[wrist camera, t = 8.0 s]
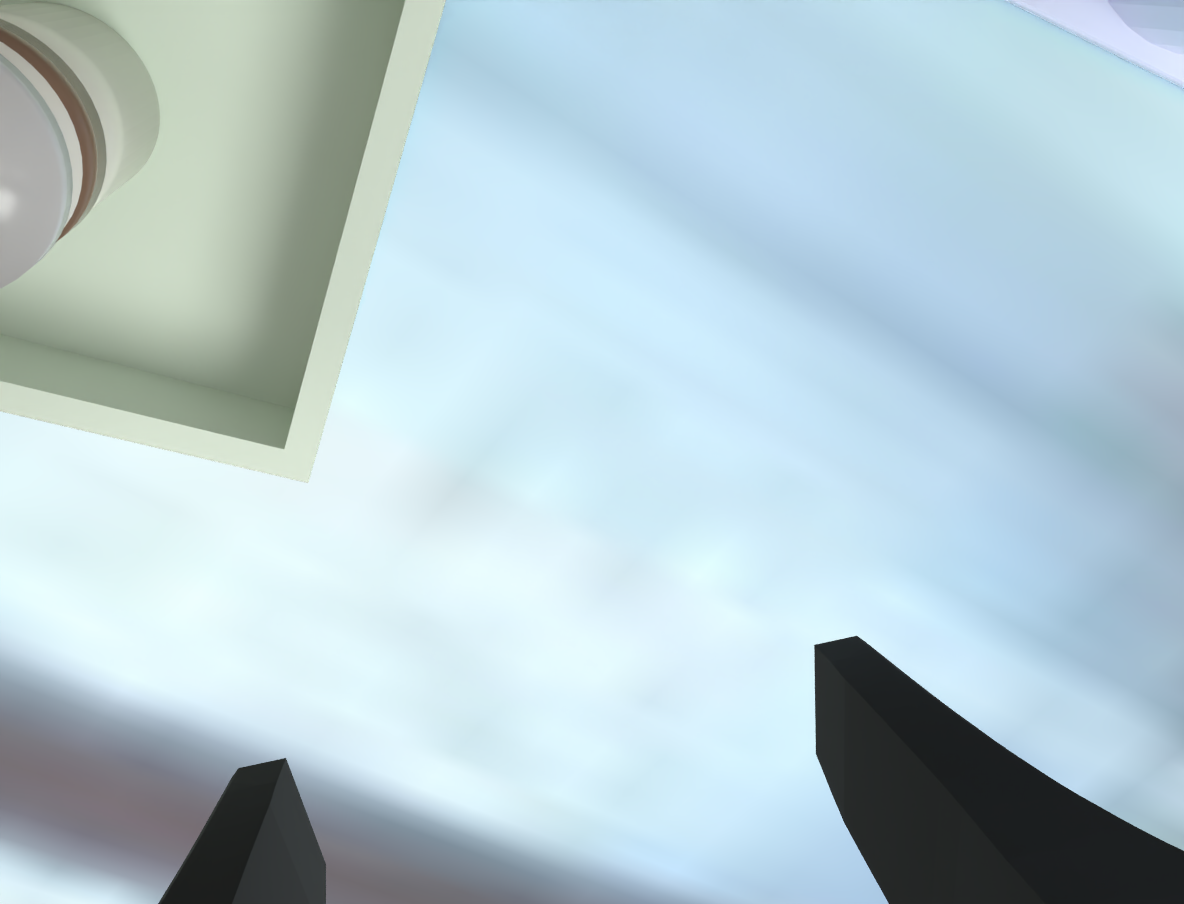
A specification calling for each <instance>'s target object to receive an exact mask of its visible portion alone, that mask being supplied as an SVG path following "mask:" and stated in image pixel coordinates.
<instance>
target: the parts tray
mask: <svg viewBox="0 0 1184 904" xmlns="http://www.w3.org/2000/svg"><path fill="white" fill-rule="evenodd" d="M445 1H446V0H0V6H2V5H12V4H21V3H31V2H49V3H56V4H62V5H66V6H69V7H73V8H76V9H79V10H81V11H83V12H86V13H88V14H90V15H92V16H94V17H96V18H97V19H99V20H101V21H102V22H104V23H105V24H107V25H108V26H109V27H111V28H112V29H114V30H115V31H116V32H117V33H118V34H119V35H120V36H122V37H123V38H124V39H125V40H126V41H127V42H128V44H129V45H130V46H131V47H132V48H133V49H134V50H135V52H136V53H137V54H138V56H139V57H140V59H141V60H142V62H143V63H144V65H145V67H146V69H147V70H148V72H149V74H150V76H151V79H152V81H153V84H154V86H155V90H156V93H157V97H158V102H159V109H160V127H159V135H158V138H157V142H156V145H155V148H154V150H153V152H152V154H151V156H150V158H149V159H148V161H147V162H146V164H145V165H144V167H143V168H142V169H141V170H140V171H139V172H138V173H137V174H136V175H135V176H133V177H132V178H131V179H130V180H128V181H127V182H126V183H125V184H123V185H122V186H121V187H120V188H118V189H117V190H116V191H114V192H113V193H112V194H111V195H109V196H108V197H107V198H106V199H104V200H103V201H102V202H100V203H99V204H98V205H97V206H95V207H94V208H93V209H92V210H91V211H90V212H89V214H88V215H87V216H86V217H85V218H84V219H83V220H82V221H81V222H80V224H78V225H77V226H76V227H75V228H73V229H72V230H71V231H70V232H68V233H67V234H66V235H65V236H63V237H62V238H61V239H60V240H58V241H57V242H56V243H55V244H54V246H53V247H52V248H51V250H50V251H49V252H48V253H47V254H46V255H45V256H44V257H43V259H41V260H40V261H39V262H38V263H36V264H35V265H34V266H33V267H31V268H30V269H29V270H28V271H27V272H25V273H24V274H23V275H22V276H20V277H19V278H18V279H17V280H15V281H13V282H11V283H10V284H8V285H6V286H5V287H3V288H0V411H1V412H5V413H10V414H14V415H18V416H23V417H27V418H31V419H35V420H40V421H44V422H48V423H53V424H57V425H61V426H65V427H70V428H74V429H78V430H83V431H87V432H91V433H95V434H100V435H104V436H108V437H113V438H117V439H121V440H125V441H130V442H134V443H138V444H143V445H147V446H151V447H155V448H160V449H164V450H168V451H173V452H177V453H181V454H186V455H190V456H194V457H198V458H203V459H207V460H211V461H216V462H220V463H224V464H228V465H233V466H237V467H241V468H246V469H250V470H254V471H258V472H263V473H267V474H271V475H276V476H280V477H284V478H288V479H293V480H297V481H301V482H306V483H308V482H309V478H310V475H311V471H312V468H313V464H314V461H315V457H316V454H317V450H318V447H319V443H320V440H321V436H322V433H323V429H324V426H325V422H326V419H327V415H328V412H329V408H330V405H331V401H332V398H333V394H334V391H335V387H336V384H337V380H338V377H339V373H340V370H341V366H342V363H343V359H344V356H345V352H346V349H347V345H348V342H349V338H350V335H351V331H352V328H353V324H354V321H355V317H356V314H357V310H358V307H359V303H360V299H361V296H362V292H363V289H364V285H365V282H366V278H367V275H368V271H369V268H370V264H371V261H372V257H373V254H374V250H375V247H376V243H377V240H378V236H379V233H380V229H381V226H382V222H383V219H384V215H385V212H386V208H387V205H388V201H389V198H390V194H391V191H392V187H393V184H394V180H395V177H396V173H397V170H398V166H399V163H400V159H401V156H402V152H403V149H404V145H405V142H406V138H407V135H408V131H409V128H410V124H411V121H412V117H413V114H414V110H415V107H416V103H417V100H418V96H419V93H420V89H421V86H422V82H423V79H424V75H425V72H426V68H427V65H428V61H429V57H430V54H431V50H432V47H433V43H434V40H435V36H436V33H437V29H438V26H439V22H440V19H441V15H442V12H443V8H444V5H445Z"/></svg>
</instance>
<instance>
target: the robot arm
mask: <svg viewBox="0 0 1184 904" xmlns="http://www.w3.org/2000/svg"><path fill="white" fill-rule="evenodd" d="M1005 1H1007V2H1009V3H1011V4H1013V5H1015V6H1017V7H1019V8H1021V9H1023V10H1025V11H1027V12H1029V13H1031V14H1033V15H1035V16H1037V17H1039V18H1041V19H1043V20H1045V21H1047V22H1049V23H1051V24H1053V25H1055V26H1057V27H1059V28H1061V29H1063V30H1065V31H1068V32H1070V33H1072V34H1074V35H1076V36H1078V37H1080V38H1082V39H1084V40H1086V41H1088V42H1090V43H1092V44H1094V45H1096V46H1098V47H1100V48H1102V49H1104V50H1106V51H1108V52H1110V53H1112V54H1114V55H1116V56H1118V57H1120V58H1122V59H1124V60H1126V61H1128V62H1130V63H1132V64H1134V65H1136V66H1138V67H1140V68H1142V69H1145V70H1147V71H1149V72H1151V73H1153V74H1155V75H1157V76H1159V77H1161V78H1163V79H1165V80H1167V81H1169V82H1171V83H1173V84H1175V85H1177V86H1179V87H1181V88H1183V89H1184V0H1005ZM814 646H815V718H816V755H817V757H818V760H819V762H820V765H821V767H822V770H823V772H824V775H825V777H826V780H827V782H828V785H829V787H830V790H831V792H832V795H833V797H834V799H835V802H836V804H837V807H838V809H839V811H840V814H841V816H842V818H843V821H844V823H845V825H846V827H847V828H848V830H849V832H850V834H851V836H852V838H853V840H854V841H855V843H856V845H857V847H858V849H859V850H860V852H861V854H862V856H863V858H864V860H865V861H866V863H867V865H868V867H869V869H870V870H871V872H872V874H873V876H874V878H875V879H876V881H877V883H878V885H879V887H880V888H881V890H882V892H883V894H884V896H885V897H886V899H887V901H888V903H889V904H1184V851H1183V850H1181V849H1179V848H1176V847H1174V846H1172V845H1170V844H1168V843H1166V842H1164V841H1162V840H1160V839H1158V838H1156V837H1154V836H1152V835H1150V834H1148V833H1146V832H1145V831H1143V830H1141V829H1139V828H1137V827H1135V826H1133V825H1131V824H1129V823H1127V822H1126V821H1124V820H1122V819H1120V818H1119V817H1117V816H1115V815H1113V814H1111V813H1110V812H1108V811H1106V810H1104V809H1103V808H1101V807H1099V806H1097V805H1095V804H1094V803H1092V802H1090V801H1088V800H1086V799H1085V798H1083V797H1081V796H1079V795H1078V794H1076V793H1074V792H1073V791H1071V790H1069V789H1068V788H1066V787H1064V786H1063V785H1061V784H1059V783H1058V782H1056V781H1055V780H1053V779H1051V778H1050V777H1048V776H1047V775H1045V774H1044V773H1042V772H1041V771H1039V770H1038V769H1036V768H1035V767H1033V766H1031V765H1030V764H1028V763H1027V762H1025V761H1024V760H1022V759H1021V758H1019V757H1018V756H1016V755H1015V754H1013V753H1012V752H1010V751H1009V750H1007V749H1006V748H1005V747H1003V746H1002V745H1000V744H999V743H997V742H996V741H994V740H993V739H992V738H990V737H989V736H987V735H986V734H985V733H983V732H982V731H981V730H979V729H978V728H976V727H975V726H974V725H972V724H971V723H969V722H968V721H967V720H965V719H964V718H963V717H961V716H960V715H958V714H957V713H956V712H954V711H953V710H952V709H950V708H949V707H948V706H946V705H945V704H944V703H942V702H941V701H940V700H938V699H937V698H936V697H934V696H933V695H932V694H931V693H929V692H928V691H927V690H925V689H924V688H923V687H922V686H920V685H919V684H918V683H916V682H915V681H914V680H913V679H911V678H910V677H909V676H908V675H906V674H905V673H904V672H902V671H901V670H900V669H899V668H897V667H896V666H895V665H894V664H892V663H891V662H890V661H889V660H887V659H886V658H885V657H884V656H882V655H881V654H880V653H879V652H877V651H876V650H875V649H874V648H872V647H871V646H870V645H868V644H867V643H866V642H865V641H863V640H862V639H860V638H859V637H858V636H854V637H849V638H845V639H840V640H835V641H831V642H826V643H821V644H817V645H814ZM158 904H326V863H325V861H324V858H323V855H322V853H321V850H320V848H319V845H318V842H317V840H316V837H315V834H314V832H313V829H312V826H311V824H310V821H309V818H308V816H307V813H306V810H305V808H304V805H303V802H302V800H301V797H300V794H299V792H298V789H297V786H296V784H295V781H294V778H293V776H292V773H291V771H290V768H289V765H288V763H287V760H286V758H284V759H280V760H275V761H270V762H266V763H261V764H256V765H252V766H247V767H242V768H239V769H238V770H237V771H236V773H235V774H234V775H233V777H232V778H231V780H230V782H229V784H228V785H227V787H226V789H225V791H224V792H223V794H222V796H221V798H220V800H219V801H218V803H217V805H216V807H215V808H214V810H213V812H212V814H211V816H210V817H209V819H208V821H207V823H206V824H205V826H204V828H203V830H202V831H201V833H200V835H199V837H198V838H197V840H196V842H195V844H194V845H193V847H192V849H191V850H190V852H189V854H188V856H187V857H186V859H185V861H184V862H183V864H182V866H181V868H180V869H179V871H178V872H177V874H176V876H175V877H174V879H173V881H172V882H171V884H170V885H169V887H168V889H167V890H166V892H165V894H164V895H163V897H162V899H161V900H160V902H159V903H158Z"/></svg>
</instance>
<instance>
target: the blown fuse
mask: <svg viewBox="0 0 1184 904" xmlns="http://www.w3.org/2000/svg"><path fill="white" fill-rule="evenodd" d="M159 127H160V109H159V102H158V97H157V93H156V90H155V86H154V84H153V81H152V79H151V76H150V74H149V72H148V70H147V69H146V67H145V65H144V63H143V62H142V60H141V59H140V57H139V56H138V54H137V53H136V52H135V50H134V49H133V48H132V47H131V46H130V45H129V44H128V42H127V41H126V40H125V39H124V38H123V37H122V36H120V35H119V34H118V33H117V32H116V31H115V30H114V29H112V28H111V27H109V26H108V25H107V24H105V23H104V22H102V21H101V20H99V19H97V18H96V17H94V16H92V15H90V14H88V13H86V12H83V11H81V10H79V9H76V8H73V7H69V6H66V5H62V4H56V3H49V2H31V3H21V4H12V5H2V6H0V288H3V287H5V286H6V285H8V284H10V283H11V282H13V281H15V280H17V279H18V278H19V277H20V276H22V275H23V274H24V273H25V272H27V271H28V270H29V269H30V268H31V267H33V266H34V265H35V264H36V263H38V262H39V261H40V260H41V259H43V257H44V256H45V255H46V254H47V253H48V252H49V251H50V250H51V248H52V247H53V246H54V244H55V243H56V242H57V241H58V240H60V239H61V238H62V237H63V236H65V235H66V234H67V233H68V232H70V231H71V230H72V229H73V228H75V227H76V226H77V225H78V224H80V222H81V221H82V220H83V219H84V218H85V217H86V216H87V215H88V214H89V212H90V211H91V210H92V209H93V208H94V207H95V206H97V205H98V204H99V203H100V202H102V201H103V200H104V199H106V198H107V197H108V196H109V195H111V194H112V193H113V192H114V191H116V190H117V189H118V188H120V187H121V186H122V185H123V184H125V183H126V182H127V181H128V180H130V179H131V178H132V177H133V176H135V175H136V174H137V173H138V172H139V171H140V170H141V169H142V168H143V167H144V165H145V164H146V162H147V161H148V159H149V158H150V156H151V154H152V152H153V150H154V148H155V145H156V142H157V138H158V135H159Z"/></svg>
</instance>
